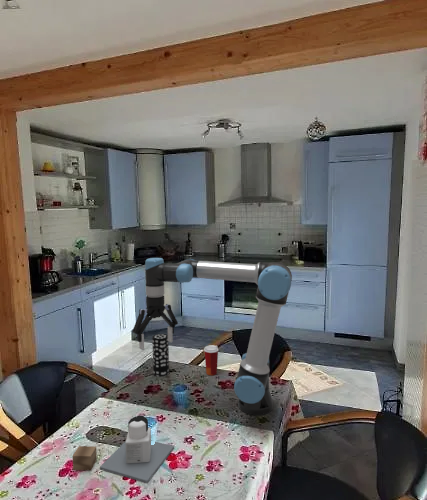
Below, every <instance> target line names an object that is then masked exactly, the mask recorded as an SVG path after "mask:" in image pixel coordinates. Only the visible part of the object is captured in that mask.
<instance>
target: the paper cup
mask: <svg viewBox="0 0 427 500" xmlns="http://www.w3.org/2000/svg"><path fill="white" fill-rule="evenodd" d="M203 351H204V361H205V373H206V375H207V376H216V375H217V372H218V361H219V360H218V359H219V358H218V357H219V348H218V345H213V344H210V345H206V346H205V347H204V348H203Z"/></svg>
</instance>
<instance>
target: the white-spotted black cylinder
mask: <svg viewBox="0 0 427 500" xmlns="http://www.w3.org/2000/svg"><path fill="white" fill-rule="evenodd" d="M151 339H152V342H151V343H152V369H153V370H152V374H153V376H155V377H161V378H162V377H166V376H168V375H169V374H170V357H169V356H170V354H169V351H170V350H169V349H170V348H169V347H170V346H169V341H168V334H167V333H166V334H164V333H158V334H154V335H152V338H151Z"/></svg>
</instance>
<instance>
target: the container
mask: <svg viewBox="0 0 427 500" xmlns="http://www.w3.org/2000/svg"><path fill="white" fill-rule="evenodd" d="M127 426H128V432H127V434H126V438H125V439H126V440H125V441H126V463H127V464H129V463H142V462H149V461H150V455H151V441H152V428H151V427H149V420H148V418H147V417H145V416H142V415H139V416H134V417H131V418H130V419H129V420H128V425H127Z"/></svg>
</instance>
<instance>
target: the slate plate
mask: <svg viewBox="0 0 427 500" xmlns="http://www.w3.org/2000/svg"><path fill="white" fill-rule="evenodd" d="M174 450H175V446H174V445H171V444H168V443H163V442H159V441H155V444H154V445H151V455H150V461H149V462H142V463H129V464H127V463H126V440H125V441H124V442H123V443H122V444H121V445H120V446H119V447H118V448H117V449H116V450H115V451H114V452H113V453H112V454H111V455H110V456H109V457H108V458H107V459H106V460H105V461H104V462H103V463H102V464H101V465H100V466H99V470H101V471H105V472H108V473H112V474H115V475H119V476H122V477H125V478H129V479H132V480H136V481H138V482H142V483H146V484H149V482H150V481H151V479H152V478H153V477H154V475H155V474H156V473H157V471H158V470H159V469H160V468H161V467H162V465H163V463H164V462H166V460H167V458H168V457H169V456H170V455H171V453H172V452H173V451H174Z"/></svg>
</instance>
